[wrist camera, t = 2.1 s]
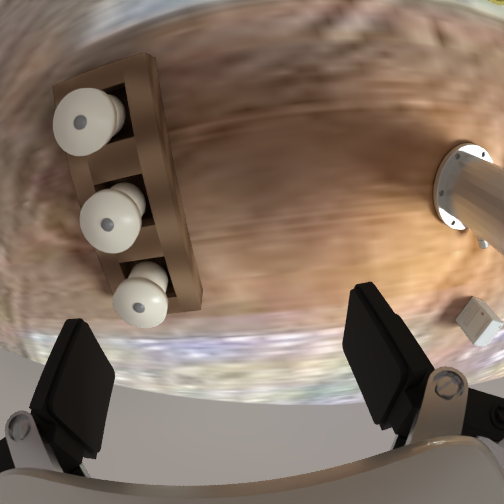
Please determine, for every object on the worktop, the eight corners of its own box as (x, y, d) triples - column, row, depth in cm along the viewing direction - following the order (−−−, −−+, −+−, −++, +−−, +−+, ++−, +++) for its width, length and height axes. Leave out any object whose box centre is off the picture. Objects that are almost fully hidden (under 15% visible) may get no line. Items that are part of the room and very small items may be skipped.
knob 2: (163, 203, 28) (150, 225, 24) (129, 238, 30) (113, 265, 25) (122, 164, 26) (102, 180, 21) (91, 203, 27) (68, 225, 23)
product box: (472, 295, 44) (493, 319, 38) (485, 301, 45) (504, 323, 39) (454, 320, 47) (472, 345, 40) (467, 324, 48) (485, 347, 42)
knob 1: (143, 113, 24) (124, 117, 19) (105, 156, 25) (82, 170, 21) (105, 76, 21) (80, 74, 17) (69, 121, 23) (41, 128, 18)
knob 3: (183, 279, 33) (177, 310, 28) (153, 305, 34) (144, 336, 29) (145, 246, 30) (132, 274, 26) (117, 276, 32) (102, 305, 27)
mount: (70, 85, 24) (52, 86, 20) (155, 57, 24) (145, 52, 20) (131, 298, 38) (124, 317, 34) (202, 289, 38) (200, 309, 34)
